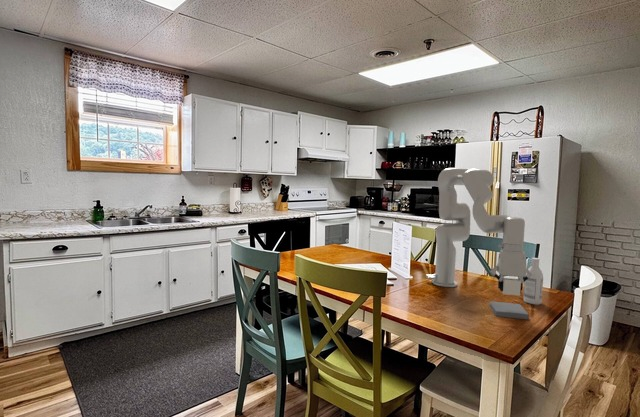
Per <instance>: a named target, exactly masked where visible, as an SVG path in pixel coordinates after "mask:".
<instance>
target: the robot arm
mask: <svg viewBox="0 0 640 417" xmlns="http://www.w3.org/2000/svg"><path fill="white" fill-rule="evenodd" d="M494 179H495V178H494V175H493V174H492V172H491V171H489V170H487V169H477V168H466V167H465V168H464V167H463V168H462V167H448V168H445V169H443V170H441V172H440V173H439V175H438V178H437V187H438V192H439V193H438V194H439V200H438V214H439V218H440V219H441V220H442V221H447V223H446V222H445V223H441V224H438V225H437V226H436V228H435V234H434V235H435V240H436V256H435V258H436V259H435V272H434V273H433V274H429V273H428V274H425V278H426V279H429V280H431V283H432V284H433V285H436V286H439V287H444V288H454V287H457V286H458V282H457V281H456V280H455V276H456V261H457V260H456V258H457V250H456V247H455V245H454V243H455V242H457V243H458V242H466V241H467V240H468V239H469V237H470V234H471V209H470V207H469V205H468V204H467V203H466V202H463V201H458V194H457V190H456V188H455V187H454V186H464V187H465V188H466V190H467V192H468V194H469V196H470V197H471V199H472V201H473V205H472V217H473V219H474V221H475V222H476V225H477V227H478V228H479V229H480V230H481V231H482V232H483V233H485V234H498V233H499V234H502V242H501V243H499V244H498V248H500V251H499V254H498V258H497V264H496V266H494V267H493V268H491V270H490V273H491V274H492V275H493V276H494V277H495V278H496V279H497V280H498V283H497V288H498V289H499V291H500V292H501V291H503V278H504V276H508V277H517V278H518V279H519V280H520V281H521V289H520V294H521V293H522V291H523V289H524V286H523V284H525V281H526V280H527V279H528V278H530V277H531V276H532V274H531V272H530V271H529V270H528V269H529V268H527V264H528V263H527V255H526V252H525V251H524V241H525V239H524V238H525V228H526V227H525V225H526V223H525V222H526V220H525V219H524V218H521V217H515V216H514V217H512V216H509V215H505V214H503V215H502V214H499V215H498V214H494V215H493V214H492V215H491V214H489V213H488V211H487V209H486V208H485V204H486V203H489V202H490V201H491V199H492V198H493V196H494V194H493V191H492V190H491V188H490V187H491V186H492V185H493V184H494ZM448 221H450V222H451V221H455V222H451V223H450V222H449V223H448ZM497 273H498V274H499V275H498V274H497ZM526 273H527V275H526Z"/></svg>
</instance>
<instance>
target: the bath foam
mask: <svg viewBox="0 0 640 417" xmlns="http://www.w3.org/2000/svg"><path fill="white" fill-rule="evenodd" d="M530 263H531V264H530V265H531V266H530V267H529V268H527V269H528V270H529V271H530V272H531V274H532V276H531V277H530V278H528V279H527V280H526V281H525V282H524V286H523V302H525V303H527V304H530V305H541V304H542V300H543V299H542V297H543V287H544V286H543V284H544V273H543V271H542V270H541V268H540V258H538V257H532V258H531V262H530ZM526 275H527V273H526Z"/></svg>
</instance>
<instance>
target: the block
mask: <svg viewBox="0 0 640 417" xmlns="http://www.w3.org/2000/svg"><path fill="white" fill-rule="evenodd" d="M520 289H521V281H520V280H519V279H518V277H513V276H504V278H503V291H500V292H501V293H502V294H503V295H507V296H519V297H520V296H521V293H520Z"/></svg>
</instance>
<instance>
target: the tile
mask: <svg viewBox="0 0 640 417" xmlns="http://www.w3.org/2000/svg"><path fill="white" fill-rule="evenodd" d="M488 306H489V308H490V309H491V311H492V313H493V314H494V316H495V317H501V318H503V317H504V318H512V319H520V320H521V319H522V320H529V319H530V314H529V313H528V312H527V311H526V310H525V308H524V307H523V306H522V305H521V304H520V303H514V302H513V303H512V302H510V303H509V302H501V301H489V302H488Z"/></svg>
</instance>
